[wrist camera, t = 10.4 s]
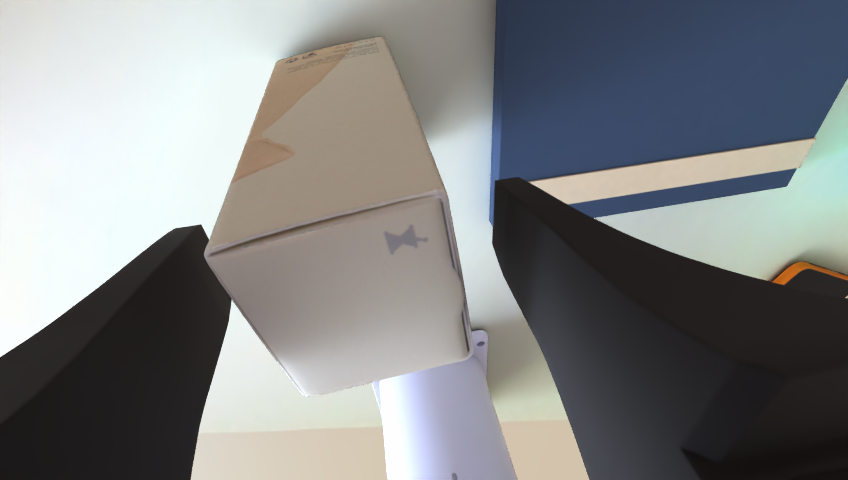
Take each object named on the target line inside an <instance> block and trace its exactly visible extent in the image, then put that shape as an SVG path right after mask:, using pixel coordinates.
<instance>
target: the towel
mask: <svg viewBox="0 0 848 480" xmlns="http://www.w3.org/2000/svg"><path fill="white" fill-rule="evenodd" d="M847 78H848V0H496V31H495V63H494V94H493V125H492V156H491V187H490V218H489V220H490V222H491V224H492V226H493V212H494V185H495V180H500V179H507V178H514V177H520V178H522V179H524V180H526V181H528V182H529V183H531V184H533V185H535V186H536V187H538V188H540V189H542V190H543V191H545V192H547V193H549V194H550V195H552V196H554V197H555V198H557V199H559V200H561V201H562V202H564V203H566V204H568V205H570V206H571V207H573V208H575V209H577V210H579V211H580V212H582V213H584V214H586V215H588V216H590V217H592V218H596V217H602V216H608V215H614V214H620V213H627V212H633V211H639V210H645V209H651V208H657V207H664V206H670V205H676V204H682V203H688V202H694V201H701V200H707V199H713V198H719V197H725V196H731V195H738V194H744V193H750V192H756V191H762V190H768V189H775V188H781V187H786V186H787V185H788V183H789V182H790V180H791V178H792V176H793V174H794V173H795V171H796V169H797V168H800V167H801V165H802V163H803V161H804V160H805V158H806V156H807V154H808V153H809V151H810V149H811V147H812V145H813V144H814V142H815V140H816V138H814V137H815V135H816V133H817V132H818V130H819V128H820V126H821V124H822V123H823V121H824V119H825V117H826V115H827V114H828V112H829V110H830V108H831V107H832V105H833V103H834V101H835V99H836V98H837V96H838V94H839V92H840V90H841V89H842V87H843V85H844V83H845V81H846V80H847Z"/></svg>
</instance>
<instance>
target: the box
mask: <svg viewBox="0 0 848 480" xmlns="http://www.w3.org/2000/svg"><path fill="white" fill-rule="evenodd" d="M204 257H205V259H206V261H207V263H208V265H209V266H210V268H211V269H212V271H213V272H214V273H215V275H216V277H217V278H218V280H219V281H220V283H221V284H222V286H223V287H224V288H225V290H226V291H227V293H228V294H229V295H230V297H231V299H232V300H233V302H234V303H235V305H236V306H237V307H238V309H239V310H240V312H241V313H242V315H243V316H244V317H245V318H246V320H247V321H248V323H249V324H250V326H251V327H252V329H253V330H254V331H255V333H256V334H257V336H258V337H259V338H260V340H261V341H262V342H263V344H264V345H265V346H266V348H267V349H268V350H269V352H270V353H271V354H272V356H273V357H274V358H275V360H276V361H277V362H278V364H279V365H280V366H281V368H282V369H283V370H284V371H285V373H286V374H287V375H288V377H289V378H290V379H291V381H292V382H293V383H294V384H295V386H296V387H297V388H298V390H299V391H300V393H301V394H302V395H303V396H305V397H310V396H317V395H322V394H327V393H332V392H336V391H340V390H344V389H348V388H353V387H357V386H361V385H364V384H368V383H372V382H376V381H380V380H384V379H388V378H392V377H396V376H400V375H404V374H408V373H413V372H417V371H421V370H425V369H429V368H433V367H438V366H442V365H446V364H451V363H456V362H460V361H465V360H467V359H469V358H470V357H471V355H472V354H473V341H472V332H471V324H470V318H469V312H468V306H467V300H466V294H465V287H464V281H463V275H462V269H461V264H460V259H459V254H458V248H457V243H456V238H455V233H454V227H453V222H452V217H451V211H450V206H449V199H448V196H447V192H446V190H445V187H444V184H443V182H442V179H441V177H440V174H439V171H438V169H437V166H436V164H435V161H434V158H433V156H432V153H431V151H430V148H429V146H428V143H427V140H426V138H425V135H424V133H423V130H422V128H421V125H420V123H419V120H418V118H417V115H416V113H415V111H414V108H413V106H412V103H411V101H410V98H409V96H408V94H407V91H406V88H405V86H404V83H403V81H402V79H401V76H400V74H399V71H398V69H397V67H396V64H395V62H394V59H393V57H392V55H391V52H390V50H389V47H388V45H387V42H386V39H385V38H384V37H375V38H370V39H364V40H359V41H354V42H349V43H345V44H340V45H335V46H331V47H327V48H322V49H318V50H314V51H311V52H307V53H303V54H299V55H296V56H292V57H288V58H285V59H281V60H279V61H277V62H276V64H275V67H274V69H273V72H272V74H271V77H270V79H269V82H268V85H267V88H266V90H265V93H264V96H263V99H262V101H261V104H260V106H259V109H258V112H257V114H256V117H255V120H254V122H253V125H252V127H251V130H250V133H249V135H248V138H247V141H246V144H245V146H244V149H243V152H242V155H241V157H240V160H239V162H238V165H237V168H236V171H235V173H234V176H233V178H232V181H231V184H230V186H229V189H228V191H227V194H226V197H225V199H224V202H223V205H222V208H221V210H220V213H219V216H218V218H217V221H216V223H215V226H214V228H213V231H212V234H211V237H210V240H209V242H208V244H207V246H206V249H205V252H204Z"/></svg>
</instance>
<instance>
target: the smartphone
mask: <svg viewBox="0 0 848 480" xmlns="http://www.w3.org/2000/svg"><path fill="white" fill-rule="evenodd" d="M772 282H773V283H777V284H782V285H786V286H790V287H794V288H798V289H803V290H808V291H813V292H818V293H823V294H828V295H833V296H838V297H843V298H845V297H846V296H848V275H845V274H842V273H839V272H836V271H832V270H829V269H826V268H823V267H820V266H817V265H814V264H811V263H807V262H797V263H795V264H793V265H791V266H790V267H788V268H787V269H786V270H785V271H784V272H783V273H782V274H780V275H779V276H778V277H777V278H776V279H775V280H774V281H772Z"/></svg>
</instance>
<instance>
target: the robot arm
mask: <svg viewBox="0 0 848 480" xmlns="http://www.w3.org/2000/svg"><path fill="white" fill-rule="evenodd" d="M208 242H209V239H208V237H207V235H206V233H205V231H204V229H203V227H202V225H195V226H189V227H182V228H176V229H173V230H172V231H170V232H169V233H167V234H166V235H164V236H163V237H162V238H160V239H159V240H158V241H156V242H155V243H154V244H152V245H151V246H150V247H149V248H147V249H146V250H145V251H143V252H142V253H141V254H140V255H138V256H137V257H136V258H135V259H134V260H132V261H131V262H130V263H129V264H127V265H126V266H125V267H124V268H122V269H121V270H120V271H119V272H117V273H116V274H115V275H114V276H112V277H111V278H110V279H109V280H107V281H106V282H105V283H104V284H102V285H101V286H100V287H99V288H97V289H96V290H95V291H93V292H92V293H91V294H89V295H88V296H87V297H85V298H84V299H83V300H81V301H80V302H79V303H77V304H76V305H75V306H73V307H72V308H71V309H69V310H68V311H67V312H65V313H64V314H63V315H61V316H60V317H59V318H57V319H56V320H55V321H53V322H52V323H51V324H49V325H48V326H46V327H45V328H44V329H42V330H41V331H39V332H38V333H36V334H35V335H33V336H32V337H30V338H29V339H28V340H26V341H25V342H23V343H22V344H20V345H18V346H17V347H15V348H14V349H12V350H11V351H9V352H8V353H6V354H5V355H3V356H2V357H0V480H190V479H191V472H192V466H193V460H194V455H195V449H196V443H197V437H198V432H199V426H200V422H201V418H202V414H203V410H204V406H205V402H206V399H207V395H208V392H209V389H210V385H211V382H212V378H213V375H214V371H215V368H216V365H217V361H218V358H219V354H220V351H221V347H222V344H223V340H224V337H225V333H226V329H227V326H228V322H229V315H230V308H231V297H230V295H229V294H228V293H227V291H226V290H225V288H224V287H223V286H222V284H221V283H220V281H219V280H218V278H217V277H216V275H215V273H214V272H213V271H212V269H211V268H210V266H209V265H208V263H207V261H206V259H205V257H204V252H205V249H206V246H207V244H208ZM492 244H493V247H494V250H495V253H496V256H497V259H498V262H499V265H500V268H501V270H502V273H503V276H504V278H505V280H506V282H507V284H508V286H509V288H510V290H511V292H512V294H513V296H514V298H515V299H516V301H517V303H518V305H519V307H520V309H521V311H522V313H523V315H524V317H525V319H526V321H527V323H528V325H529V326H530V328H531V330H532V332H533V334H534V336H535V338H536V340H537V342H538V344H539V346H540V348H541V350H542V352H543V355H544V357H545V359H546V361H547V364H548V366H549V369H550V372H551V374H552V377H553V379H554V382H555V384H556V387H557V390H558V392H559V395H560V397H561V400H562V403H563V406H564V408H565V411H566V414H567V416H568V419H569V422H570V425H571V427H572V430H573V433H574V435H575V439H576V441H577V444H578V447H579V450H580V453H581V456H582V459H583V462H584V465H585V468H586V471H587V474H588V476H589V479H590V480H848V298H843V297H838V296H833V295H828V294H823V293H818V292H813V291H808V290H803V289H798V288H794V287H790V286H786V285H782V284H777V283H773V282H769V281H765V280H761V279H757V278H753V277H749V276H746V275H742V274H739V273H735V272H731V271H728V270H724V269H721V268H718V267H715V266H711V265H708V264H705V263H702V262H699V261H696V260H693V259H689V258H686V257H683V256H681V255H678V254H675V253H672V252H669V251H667V250H664V249H661V248H659V247H656V246H654V245H651V244H649V243H646V242H644V241H641V240H639V239H636V238H634V237H632V236H629V235H627V234H625V233H623V232H620V231H618V230H616V229H614V228H612V227H610V226H608V225H606V224H604V223H602V222H600V221H598V220H596V219H594V218H592V217H590V216H588V215H586V214H584V213H582V212H580V211H579V210H577V209H575V208H573V207H571V206H570V205H568V204H566V203H564V202H562V201H561V200H559V199H557V198H555V197H554V196H552V195H550V194H549V193H547V192H545V191H543V190H542V189H540V188H538V187H536V186H535V185H533V184H531V183H529V182H528V181H526V180H524V179H522V178H520V177H514V178H507V179H500V180H495V185H494V212H493V239H492ZM471 332H472V341H473V354H472V355H471V357H470V358H469V359H467V360H465V361H460V362H456V363H451V364H446V365H442V366H438V367H433V368H429V369H425V370H421V371H417V372H413V373H408V374H404V375H400V376H396V377H392V378H388V379H384V380H380V381H376V382H372V384H373V388H374V392H375V395H376V399H377V402H378V406H379V410H380V413H381V417H382V421H383V433H384V444H385V456H386V467H387V480H518V479H517V476H516V473H515V470H514V467H513V464H512V461H511V457H510V455H509V451H508V448H507V445H506V442H505V439H504V436H503V433H502V429H501V426H500V423H499V420H498V417H497V414H496V411H495V408H494V405H493V401H492V398H491V395H490V392H489V389H488V386H487V383H486V378H487V351H488V335H487V333H486V331H484V330H477V331H471Z"/></svg>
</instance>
